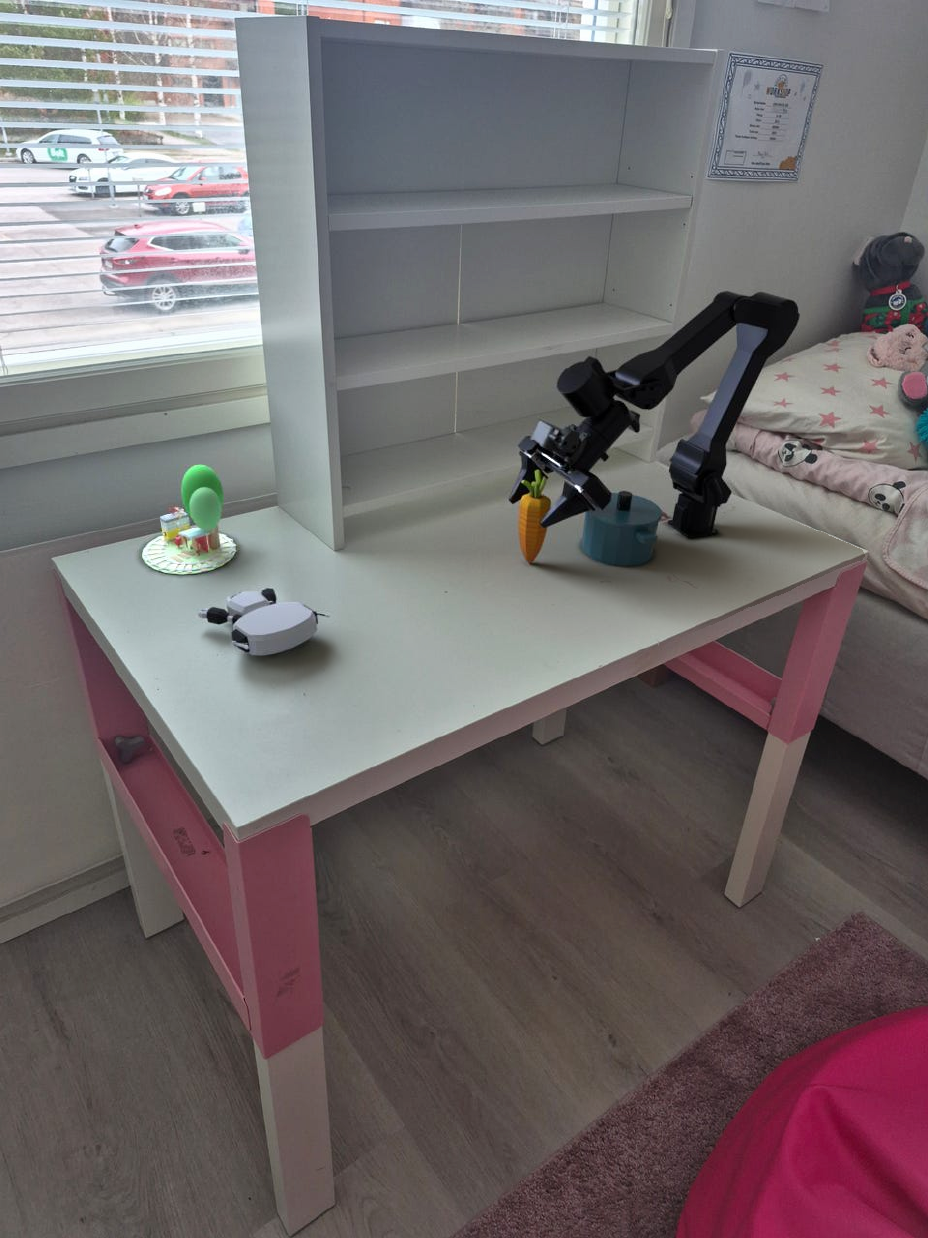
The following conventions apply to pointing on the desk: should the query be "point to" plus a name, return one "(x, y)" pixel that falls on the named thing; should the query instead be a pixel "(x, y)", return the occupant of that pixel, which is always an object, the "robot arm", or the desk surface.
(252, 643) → the robot toy
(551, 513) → the robot arm
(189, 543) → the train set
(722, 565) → the desk surface
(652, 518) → the pot lid
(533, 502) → the carrot
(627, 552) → the pot
